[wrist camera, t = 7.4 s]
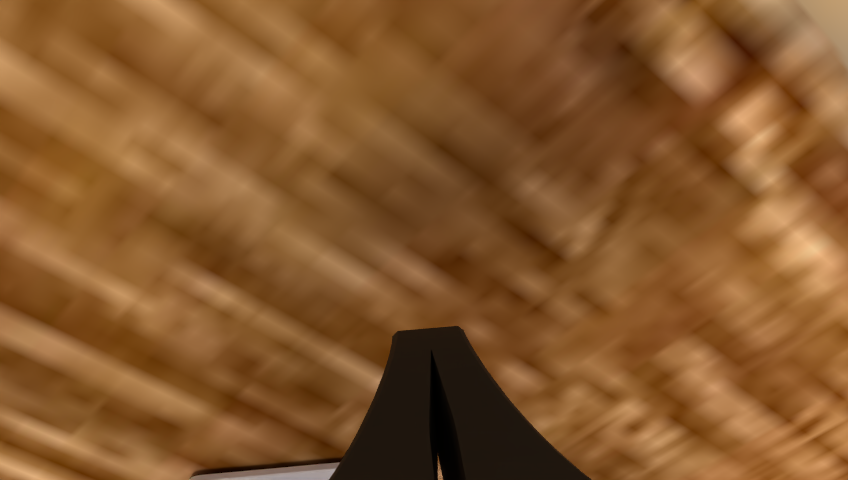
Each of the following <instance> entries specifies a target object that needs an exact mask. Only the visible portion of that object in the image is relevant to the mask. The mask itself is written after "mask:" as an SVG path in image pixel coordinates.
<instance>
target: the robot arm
mask: <svg viewBox="0 0 848 480" xmlns="http://www.w3.org/2000/svg"><path fill="white" fill-rule="evenodd" d="M438 457H439V461H440V466H441V471H442V476H443V480H591V479H590V478H589V477H588V476H586V475H585V474H584V473H582V472H581V471H580V470H579V469H577V468H576V467H575V466H574V465H573V464H572V463H571V462H570V461H568V460H567V459H566V458H565V457H564V456H563V455H562V454H560V453H559V452H558V451H557V450H556V449H555V448H554V447H553V446H552V445H551V444H550V443H549V442H548V441H547V440H546V439H545V438H544V437H543V436H542V435H541V434H540V433H539V432H538V431H537V430H536V429H535V428H534V427H533V426H532V425H531V424H530V423H529V422H528V421H527V419H526V418H525V417H524V416H523V415H522V414H521V413H520V411H519V410H518V409H517V408H516V407H515V406H514V405H513V403H512V402H511V401H510V400H509V398H508V397H507V396H506V395H505V393H504V392H503V391H502V390H501V388H500V387H499V386H498V384H497V383H496V382H495V380H494V379H493V378H492V376H491V375H490V374H489V372H488V371H487V369H486V368H485V366H484V365H483V363H482V362H481V360H480V359H479V357H478V356H477V354H476V353H475V351H474V349H473V348H472V346H471V344H470V342H469V341H468V339H467V337H466V335H465V333H464V330H462V329H461V328H460V327H459V326H452V327H440V328H429V329H417V330H405V331H397V332H396V333H395V334H394V335H393V337H392V345H391V350H390V354H389V358H388V361H387V364H386V368H385V371H384V374H383V376H382V379H381V381H380V384H379V387H378V389H377V392H376V394H375V397H374V399H373V401H372V404H371V406H370V408H369V410H368V412H367V414H366V416H365V418H364V420H363V422H362V424H361V426H360V428H359V430H358V432H357V434H356V436H355V438H354V440H353V442H352V443H351V445H350V447H349V449H348V450H347V452H346V454H345V455H344V457H343V459H342V460H341V462H337V463H326V464H315V465H304V466H293V467H282V468H271V469H260V470H250V471H239V472H228V473H217V474H206V475H197V476H193V477H191V478H190V479H189V480H438Z"/></svg>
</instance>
